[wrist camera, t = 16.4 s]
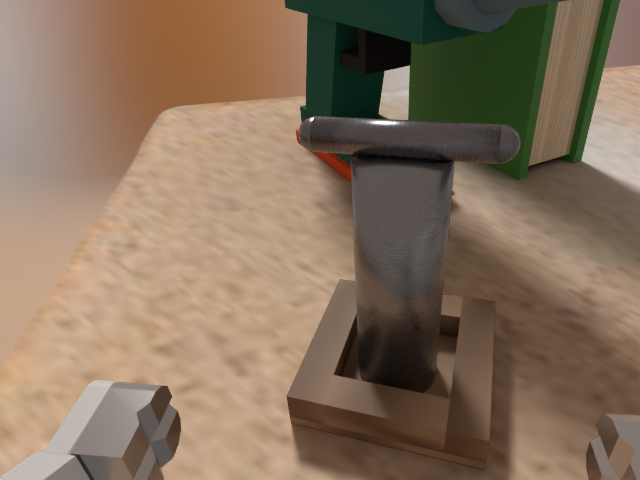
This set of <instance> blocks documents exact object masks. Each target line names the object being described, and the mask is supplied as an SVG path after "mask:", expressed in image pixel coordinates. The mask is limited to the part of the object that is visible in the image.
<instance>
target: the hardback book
mask: <svg viewBox="0 0 640 480" xmlns="http://www.w3.org/2000/svg"><path fill="white" fill-rule="evenodd" d="M619 3H620V0H568V1H562V2H556V3H550V4H543V5H537V6H531V7H525V8H519V9H516V11H515V12H514V13H513V15H512V16H511V17H510V19H509V20H508V22H507V23H505V24H503V29H500V30H495V31H491V32H489V33H487V32H485V33H480V34H475V35H470V36H465V37H460V38H455V39H450V40H445V41H440V42H435V43H430V44H425V45H419V44H415V43H412V42H411V65H410V82H409V115H408V120H413V121H436V122H458V123H481V124H503V125H507V126H510V127H512V128H513V129H514V130H515V131H516V132H517V133H518V135H519V138H520V148H519V151H518V153H517V154H516V156H515V157H514V158H513V159H511V160H510V161H508V162H506V163H502V164H491V163H487V164H489V165H491V166H493V167H495V168H496V169H498V170H500V171H502V172H504V173H506V174H508V175H510V176H511V177H513V178H515V179H517V180H520V179H523V178H526V177H527V171H528V166H530V165H534V164H537V163H540V162H544V161H547V160H550V159H554V158H557V157H561V158H563V159H565V160H568V161H570V162H572V163H575V162H579V161H581V159H582V155H583V151H584V146H585V142H586V138H587V134H588V130H589V126H590V122H591V118H592V114H593V109H594V105H595V101H596V97H597V93H598V89H599V85H600V81H601V77H602V72H603V68H604V64H605V60H606V56H607V52H608V48H609V44H610V40H611V35H612V31H613V27H614V23H615V19H616V14H617V11H618V7H619Z"/></svg>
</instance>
